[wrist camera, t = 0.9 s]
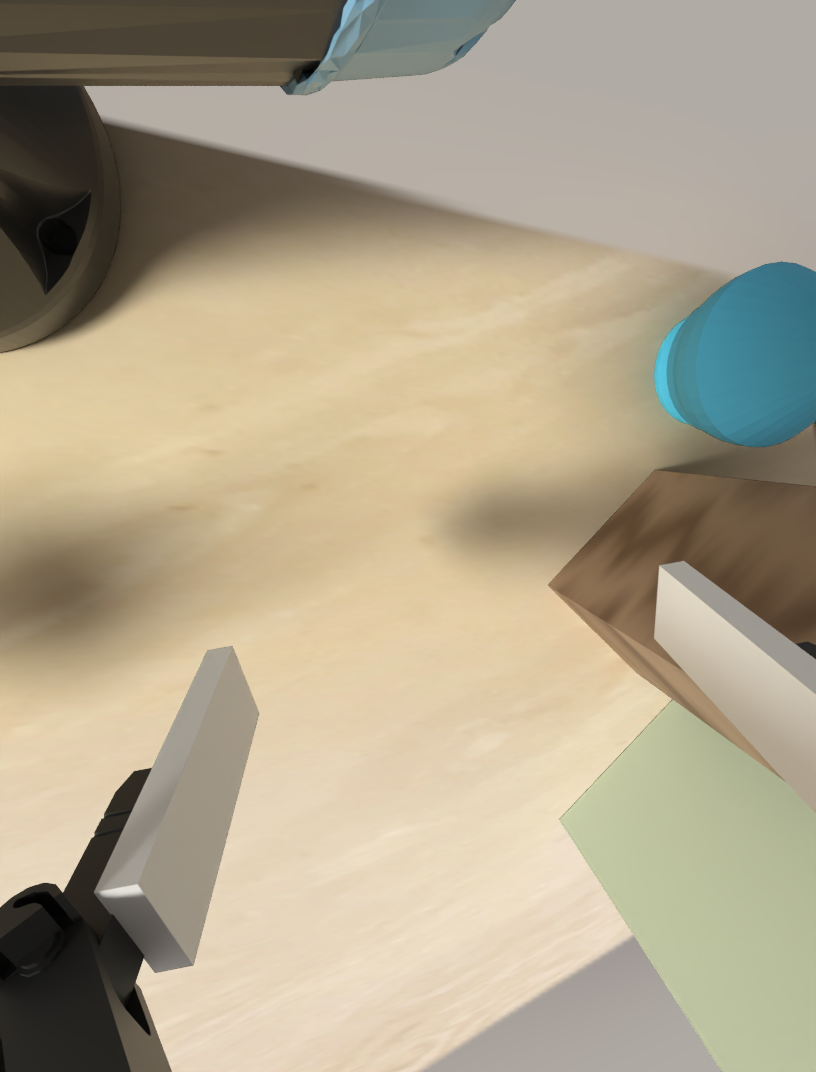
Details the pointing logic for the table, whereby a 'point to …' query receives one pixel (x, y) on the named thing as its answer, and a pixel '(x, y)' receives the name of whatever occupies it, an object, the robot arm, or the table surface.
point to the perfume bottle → (746, 359)
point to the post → (714, 551)
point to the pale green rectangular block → (712, 886)
